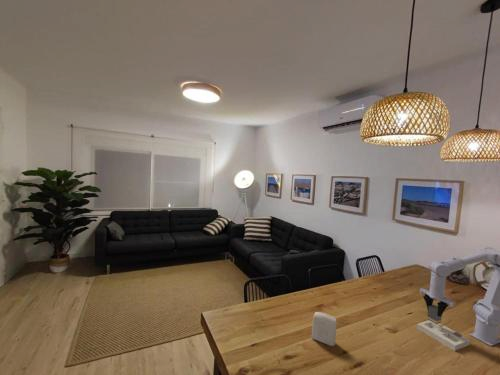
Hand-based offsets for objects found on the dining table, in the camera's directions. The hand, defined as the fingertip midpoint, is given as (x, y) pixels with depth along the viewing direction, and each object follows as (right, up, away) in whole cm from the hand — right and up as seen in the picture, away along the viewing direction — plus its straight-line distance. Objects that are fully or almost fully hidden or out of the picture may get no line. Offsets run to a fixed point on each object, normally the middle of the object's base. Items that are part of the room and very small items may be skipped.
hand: (434, 313), depth 117 cm
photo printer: (-59, -7, -11) cm, 60 cm away
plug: (0, -4, 0) cm, 4 cm away
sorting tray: (+1, -10, -3) cm, 10 cm away
